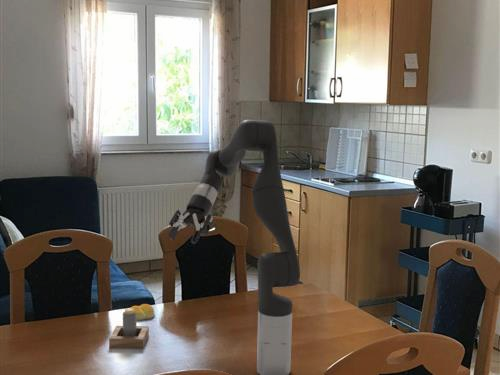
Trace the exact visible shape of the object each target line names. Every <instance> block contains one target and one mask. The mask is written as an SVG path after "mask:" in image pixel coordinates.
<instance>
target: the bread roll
mask: <svg viewBox="0 0 500 375" xmlns="http://www.w3.org/2000/svg"><path fill="white" fill-rule="evenodd" d="M130 308H131V309H134V311H135V312H136V321H143V320H150V319H152V318H154V317H155V316H156V315H155V310H154V308H153V306H152V305H151V304H148V303H142V304H140V305H133V306H131V307H130Z"/></svg>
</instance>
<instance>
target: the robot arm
mask: <svg viewBox="0 0 500 375" xmlns="http://www.w3.org/2000/svg"><path fill="white" fill-rule="evenodd" d="M277 138H278V137H277V131H276V128H275V125H274V124H273V122H271V121H268V120H259V119H244V120H242V121H241V122H240V123H238V126H237V127H236V129H235V131H234V132H233V134H232V137H231V138H230V140H229V142H228V143H227V144H226V145H225V146H224V147H223V148H221V149H219V148H214V149H213V150H211V151H210V152H209V153H208V155H207V158H206V162H205V169H204V173H203V176H202V178H201V180H200V182H199V183H198V185H197V187H196V188H195V190H194V192H193V193H192V195H191V197H190V199H189V201H188V203H187V205H186V209H185V211H184V212H182V211H181V210H179V209H177V210H176V211H175V213H174V214H173V216H172V217H171V219H170V221H169V222H168V225H169V226H170V227H171V229H170V232H169V234H168V237H169V240H171V241H174V240H175V238H176V236H177V235H178V233H179V230H181V229H184V228H186V227H192V228H195V229H196V230H195V231H194V233H193V234H192V237H191V238H190V242H191V243H192V244H194V245H196V243H198V241H199V240H200V238H201V235H203V234H205V235H208V234H209V232H210V230H211V226H212V224H213V222H214V218H213V216H212V215H211V214H210V212H211V210H212V207H213V205H214V204H215V201H216V199H217V196H218V194H219V193H220V192H219V191H220V190H221V187H222V186H223V183H224V180H223V178H222V176H224V177H230V176H232V175H233V174H234V173H235V171H236V169H237V165H238V164H239V163H240V162H241V161H243V160H244V158H245V156H246V151H251V152H252V151H253V152H262V154H263V164H262V167H261V169H260V171H259V172H258V174H257V176H256V179H255V180H254V182H253V185H252V187H251V188H252V189H251V197H252V198H251V199H252V203H253V210H254V214H255V215H256V217H257V218H258V220H259V221H260V222H261V224H263V226H264V227H265V228H266V229H267V230H268V232H270V233H271V235H272V236H273V237H274V239H275V241H276V242H277V245H278V248H279V251H280V252H279V251H278V252H264V253H261V254H260V255H259V257H258V259H257V302H258V304H257V306H258V308H257V309H258V311H257V340H256V343H257V345H256V350H257V351H256V372H257V374H259V375H289V374H290V373H291V367H292V366H291V362H292V361H291V360H292V358H291V357H292V356H291V355H292V354H291V353H292V334H293V333H292V329H293V328H292V327H293V325H292V324H293V301H292V300H291V299H290V298H288V297H287V296H283V295H281V294H276V293H275V292H274V291H273V289H274V288H285V287H294V286H297V285H298V284H299V282H300V279H301V269H300V268H301V267H300V261H299V256H298V253H297V250H296V245H295V242H294V237H293V235H292V230H291V225H290V221H289V220H290V219H289V214H288V207H287V201H286V195H285V188H284V184H283V180H282V179H283V178H282V174H281V169H280V168H281V167H280V162H279V151H278V139H277ZM221 175H222V176H221ZM203 222H204V223H203ZM202 224H203V225H202Z"/></svg>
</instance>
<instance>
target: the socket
mask: <svg viewBox="0 0 500 375" xmlns="http://www.w3.org/2000/svg"><path fill="white" fill-rule="evenodd" d="M149 328H150V327H149V326H147V325H146V326H145V325H142V326H141V325H136V337H129V336H123V325H116V326H115V327H114V329H113V331H112V333H111V335H110V336H109V338H108V348H109V349H129V350H130V349H131V350H132V349H133V350H134V349H137V350H138V349H139V350H140V349H141V350H144V347H145V345H146V342H147V340H148V337H149V332H150V331H149Z"/></svg>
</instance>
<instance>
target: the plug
mask: <svg viewBox="0 0 500 375" xmlns="http://www.w3.org/2000/svg"><path fill="white" fill-rule="evenodd" d="M122 326H123V336H129V337H136V326H137V320H136V312H135V311H134V309H131V307H128V308H126V309H124V312H122Z"/></svg>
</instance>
